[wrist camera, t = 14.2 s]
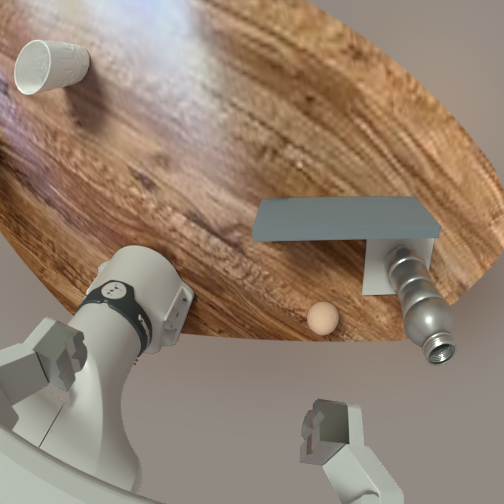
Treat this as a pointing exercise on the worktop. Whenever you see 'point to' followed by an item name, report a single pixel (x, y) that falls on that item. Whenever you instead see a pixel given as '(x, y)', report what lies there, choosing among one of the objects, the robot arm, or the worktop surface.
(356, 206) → the slate screen
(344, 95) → the worktop surface
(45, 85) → the white cup
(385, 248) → the grey mat
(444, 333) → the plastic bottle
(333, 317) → the egg
